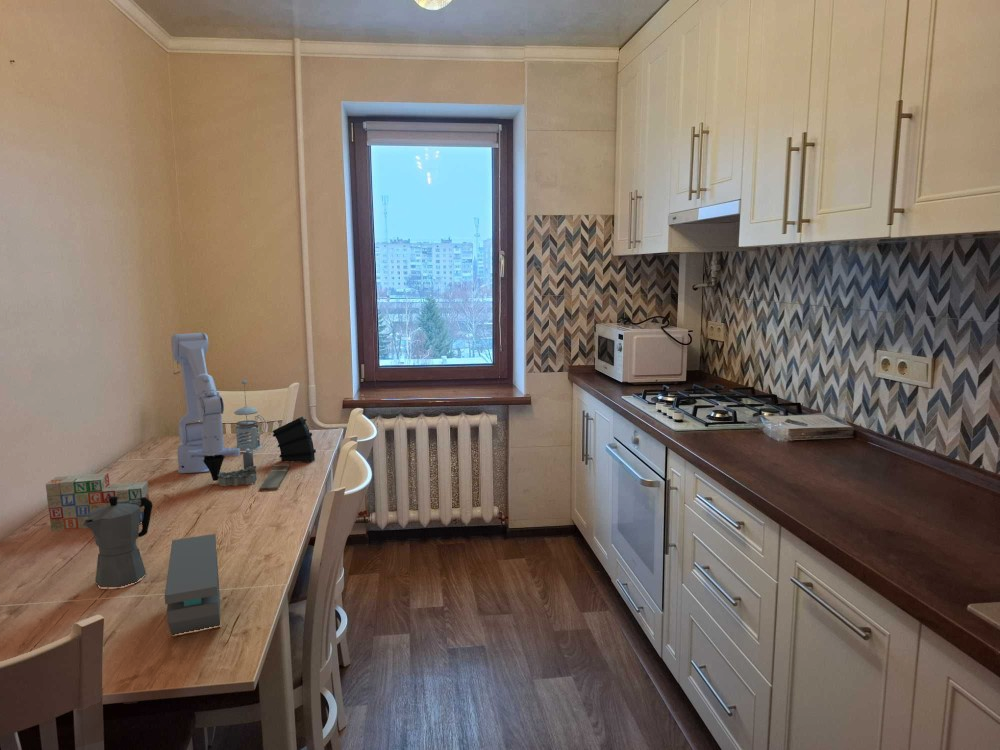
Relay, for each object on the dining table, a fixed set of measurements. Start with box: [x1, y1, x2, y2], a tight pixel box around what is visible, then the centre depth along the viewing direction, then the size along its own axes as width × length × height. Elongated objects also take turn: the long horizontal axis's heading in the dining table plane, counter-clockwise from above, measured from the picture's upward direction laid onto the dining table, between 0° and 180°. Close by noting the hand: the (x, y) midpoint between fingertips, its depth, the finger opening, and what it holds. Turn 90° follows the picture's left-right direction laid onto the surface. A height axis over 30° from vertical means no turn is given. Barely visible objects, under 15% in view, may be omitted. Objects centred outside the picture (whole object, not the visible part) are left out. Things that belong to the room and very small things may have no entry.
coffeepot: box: [83, 496, 154, 587], centre depth 139 cm, size 15×9×18 cm, turn 159°
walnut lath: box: [259, 463, 291, 492], centre depth 207 cm, size 5×24×1 cm, turn 9°
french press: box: [233, 379, 267, 452], centre depth 240 cm, size 10×12×25 cm
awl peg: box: [242, 449, 255, 469], centre depth 215 cm, size 3×3×7 cm
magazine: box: [272, 416, 317, 463], centre depth 225 cm, size 4×13×15 cm, turn 83°
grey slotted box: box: [164, 533, 221, 636], centre depth 123 cm, size 25×8×11 cm, turn 23°
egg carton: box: [217, 465, 258, 487], centre depth 203 cm, size 11×8×4 cm
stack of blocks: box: [45, 472, 150, 532], centre depth 171 cm, size 21×6×12 cm, turn 103°
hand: (216, 479), depth 203 cm, fingers closed
